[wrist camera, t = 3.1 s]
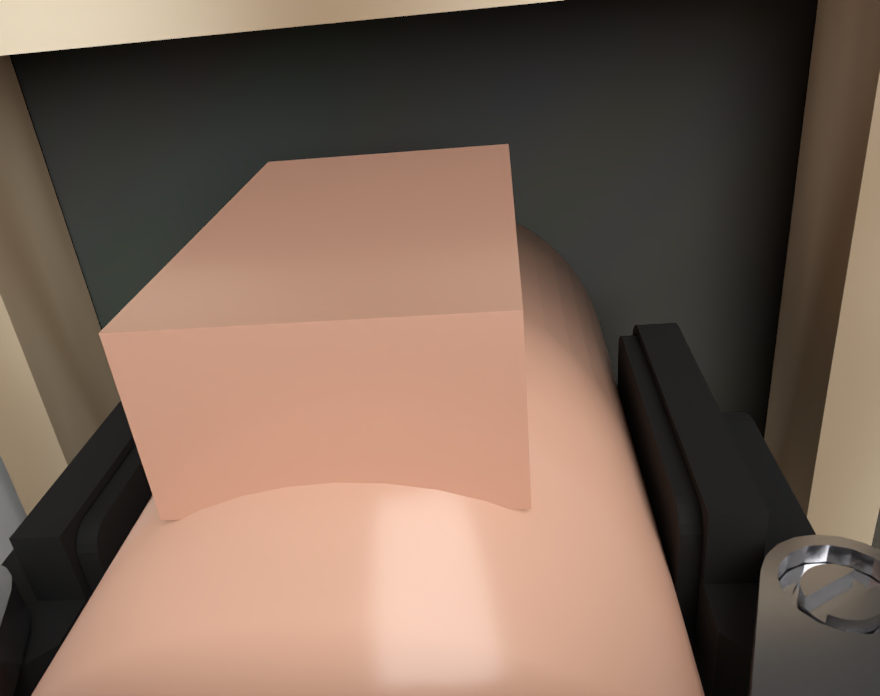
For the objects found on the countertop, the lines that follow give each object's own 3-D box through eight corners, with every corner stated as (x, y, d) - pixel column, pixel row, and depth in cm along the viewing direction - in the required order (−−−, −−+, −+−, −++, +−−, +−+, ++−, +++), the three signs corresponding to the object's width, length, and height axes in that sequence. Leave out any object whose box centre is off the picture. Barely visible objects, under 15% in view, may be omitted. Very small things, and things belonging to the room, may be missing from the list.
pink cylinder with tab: (601, 492, 14) (717, 1070, 7) (297, 501, 14) (112, 1047, 7) (606, 96, 11) (838, 412, 4) (215, 128, 11) (-264, 459, 4)
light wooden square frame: (921, -140, 9) (1025, -159, 7) (792, 634, 15) (831, 726, 13) (-90, -27, 10) (-210, -22, 9) (161, 646, 16) (121, 731, 15)
